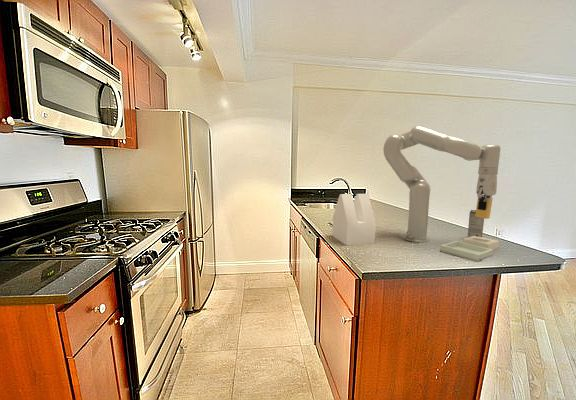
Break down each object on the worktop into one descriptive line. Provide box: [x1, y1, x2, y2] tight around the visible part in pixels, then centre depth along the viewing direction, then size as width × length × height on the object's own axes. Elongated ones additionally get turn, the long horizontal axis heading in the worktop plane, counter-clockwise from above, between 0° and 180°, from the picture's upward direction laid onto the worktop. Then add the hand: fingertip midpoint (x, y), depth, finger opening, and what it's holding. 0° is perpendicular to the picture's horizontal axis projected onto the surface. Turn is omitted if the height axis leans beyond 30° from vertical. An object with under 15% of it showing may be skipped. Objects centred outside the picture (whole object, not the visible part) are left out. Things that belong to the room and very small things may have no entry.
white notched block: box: [332, 193, 377, 246], centre depth 146 cm, size 19×15×25 cm
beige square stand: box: [462, 236, 500, 251], centre depth 134 cm, size 11×11×4 cm
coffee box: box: [466, 209, 485, 238], centre depth 146 cm, size 9×6×16 cm
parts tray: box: [439, 240, 495, 263], centre depth 125 cm, size 14×16×3 cm
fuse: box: [475, 197, 493, 220], centre depth 132 cm, size 3×5×10 cm, turn 32°
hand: (483, 209), depth 132 cm, fingers closed on fuse, 3 cm apart
